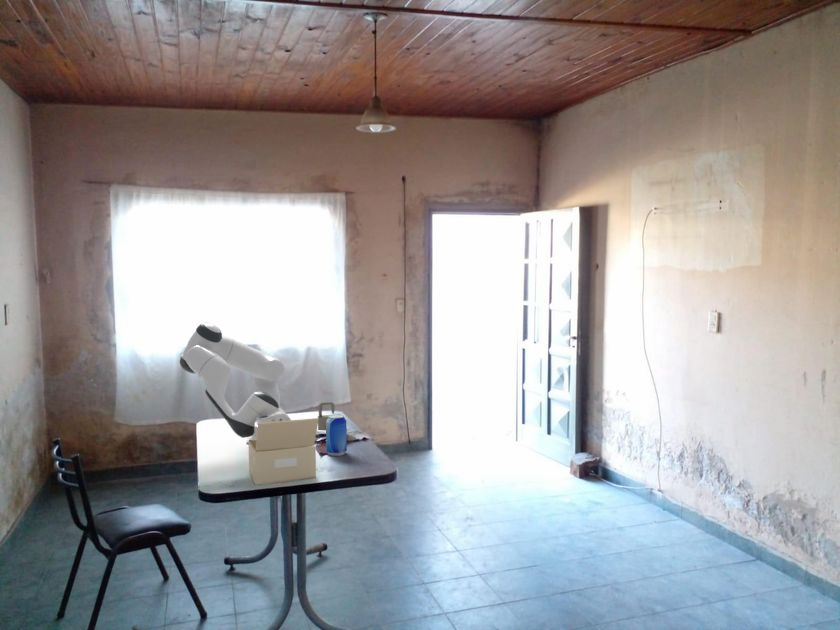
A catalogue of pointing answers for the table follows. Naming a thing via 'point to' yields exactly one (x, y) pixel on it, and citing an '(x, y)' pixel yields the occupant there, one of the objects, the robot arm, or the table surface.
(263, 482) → the carton
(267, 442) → the carton flap
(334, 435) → the beer can
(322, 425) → the padlock
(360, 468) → the table surface
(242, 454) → the table surface
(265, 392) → the robot arm
